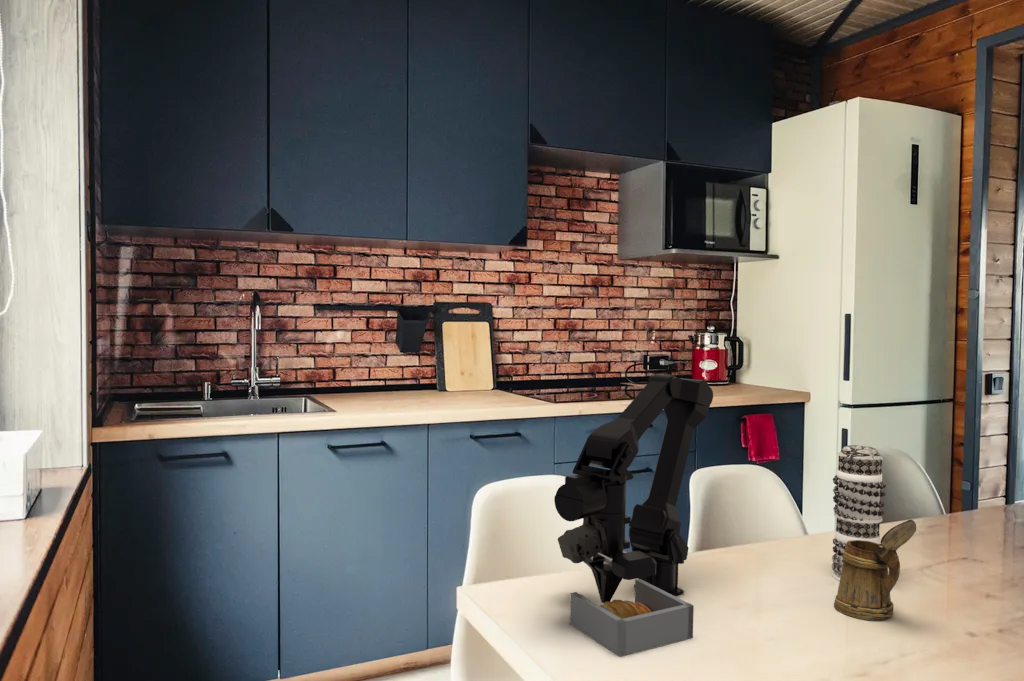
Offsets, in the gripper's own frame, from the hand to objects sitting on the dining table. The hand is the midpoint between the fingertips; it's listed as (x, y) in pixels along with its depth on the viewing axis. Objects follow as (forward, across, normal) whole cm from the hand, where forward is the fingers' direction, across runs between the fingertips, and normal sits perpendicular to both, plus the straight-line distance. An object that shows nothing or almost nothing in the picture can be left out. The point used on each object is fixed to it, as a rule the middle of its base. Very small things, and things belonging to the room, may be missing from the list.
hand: (605, 603), depth 126 cm
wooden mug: (+2, +20, +40) cm, 45 cm away
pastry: (+2, +4, +1) cm, 4 cm away
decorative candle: (+2, +7, +53) cm, 54 cm away
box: (+2, +7, 0) cm, 7 cm away
